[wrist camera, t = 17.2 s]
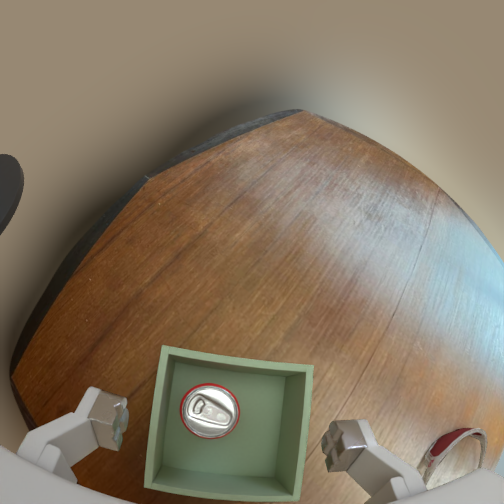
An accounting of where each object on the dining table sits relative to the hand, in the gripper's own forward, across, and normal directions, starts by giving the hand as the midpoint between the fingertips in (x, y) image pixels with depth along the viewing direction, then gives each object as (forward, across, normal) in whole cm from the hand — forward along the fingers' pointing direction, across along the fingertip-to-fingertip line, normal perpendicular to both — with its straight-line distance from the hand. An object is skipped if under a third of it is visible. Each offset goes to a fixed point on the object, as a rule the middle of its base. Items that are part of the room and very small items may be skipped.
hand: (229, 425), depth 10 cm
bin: (+17, -2, +20) cm, 27 cm away
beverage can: (+18, 0, +18) cm, 26 cm away
